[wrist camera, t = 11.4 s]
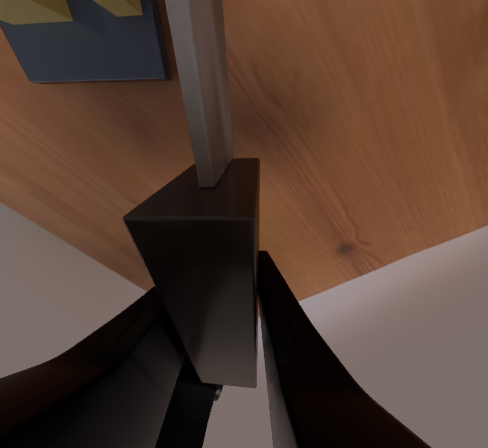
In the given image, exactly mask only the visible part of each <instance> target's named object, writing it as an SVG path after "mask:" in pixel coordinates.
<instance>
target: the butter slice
mask: <svg viewBox="0 0 488 448" xmlns="http://www.w3.org/2000/svg"><path fill="white" fill-rule="evenodd" d="M93 1H95V2H96V3H98V4H99V5H101V6H102V7H104V8H105V9H107V10H108V11H110V12H111V13H113V14H114V15H116V16H117V17H121V16H136V15H143V12H142V7H141V3H140V0H93Z"/></svg>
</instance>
